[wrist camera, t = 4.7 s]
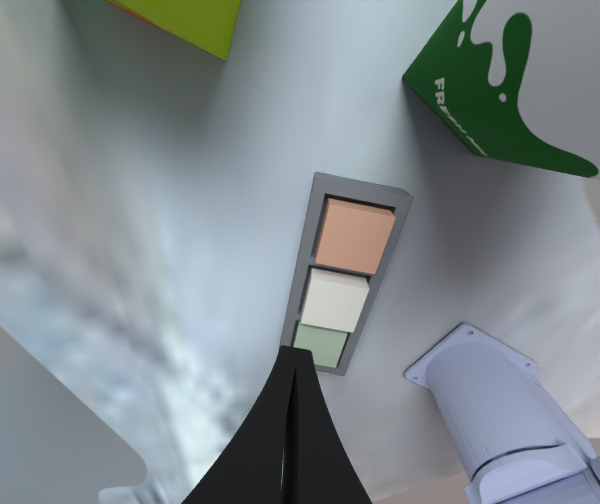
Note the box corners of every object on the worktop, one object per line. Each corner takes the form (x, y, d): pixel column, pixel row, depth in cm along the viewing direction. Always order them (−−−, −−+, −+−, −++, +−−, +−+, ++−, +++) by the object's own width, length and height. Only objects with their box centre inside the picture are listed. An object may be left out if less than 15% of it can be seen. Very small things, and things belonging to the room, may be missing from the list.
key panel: (341, 358, 26) (343, 378, 24) (279, 347, 25) (276, 366, 23) (402, 189, 18) (413, 197, 16) (315, 171, 18) (315, 177, 16)
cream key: (351, 320, 21) (353, 332, 19) (301, 311, 21) (300, 323, 19) (365, 278, 19) (369, 289, 18) (311, 268, 19) (311, 278, 18)
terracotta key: (370, 264, 18) (374, 274, 17) (315, 253, 18) (315, 263, 17) (389, 210, 17) (395, 217, 15) (328, 198, 16) (329, 204, 15)
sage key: (334, 355, 24) (335, 367, 23) (291, 347, 24) (290, 359, 23) (345, 322, 22) (347, 334, 21) (299, 313, 22) (298, 325, 21)
